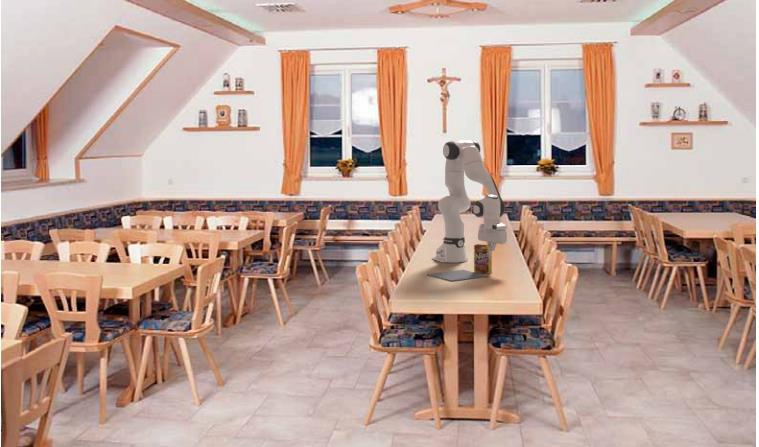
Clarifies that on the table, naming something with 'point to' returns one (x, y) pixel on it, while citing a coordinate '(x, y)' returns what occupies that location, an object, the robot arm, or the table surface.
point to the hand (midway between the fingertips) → (491, 250)
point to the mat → (457, 275)
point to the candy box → (483, 258)
